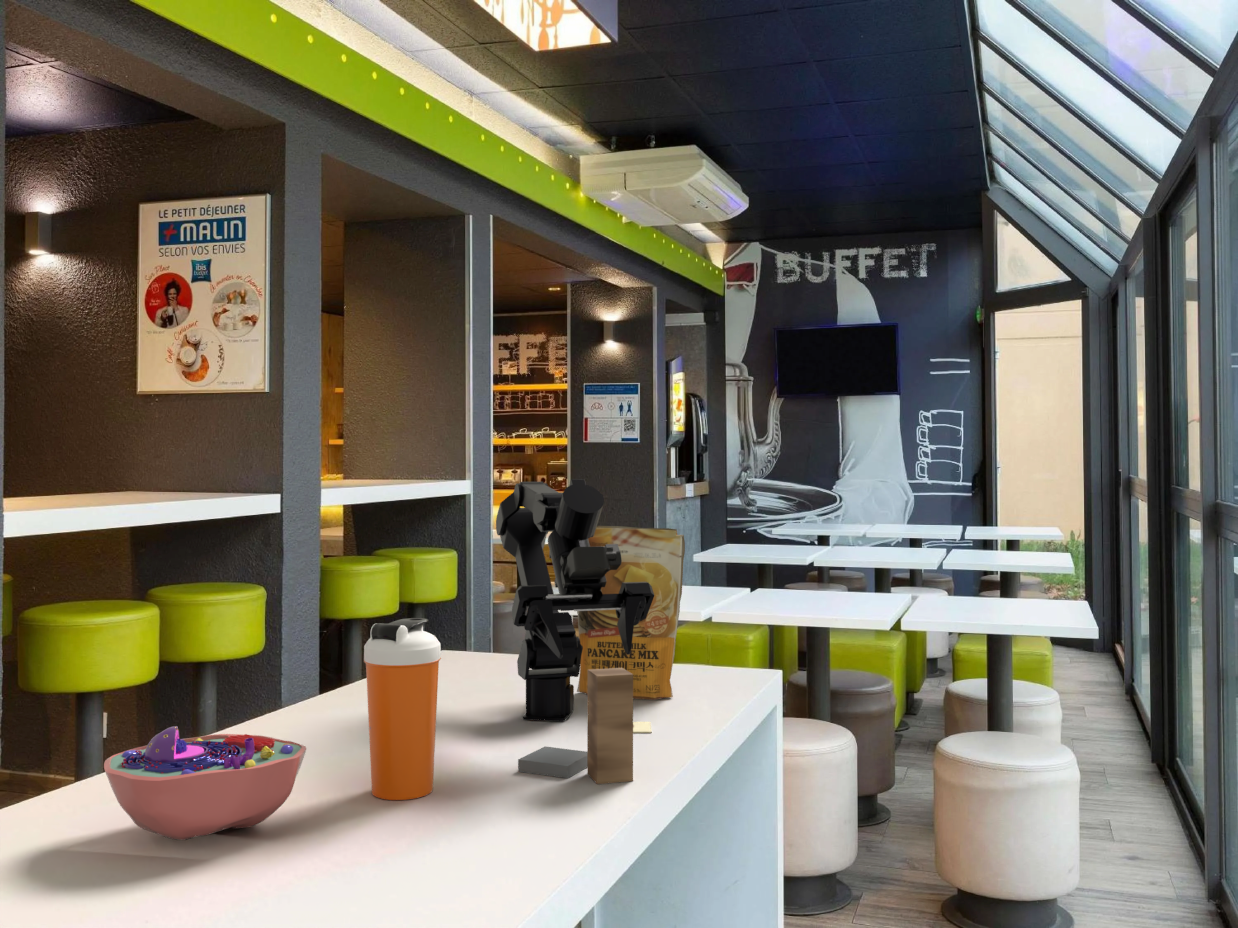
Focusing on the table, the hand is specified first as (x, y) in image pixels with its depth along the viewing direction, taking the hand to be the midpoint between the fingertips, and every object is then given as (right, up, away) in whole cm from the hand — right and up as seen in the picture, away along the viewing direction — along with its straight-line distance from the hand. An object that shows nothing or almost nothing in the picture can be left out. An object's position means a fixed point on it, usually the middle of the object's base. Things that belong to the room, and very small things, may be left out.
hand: (595, 654), depth 144 cm
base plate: (-5, -14, -4) cm, 15 cm away
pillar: (+2, -14, -8) cm, 16 cm away
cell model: (-40, -14, -28) cm, 51 cm away
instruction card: (+3, -14, +17) cm, 22 cm away
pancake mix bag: (+4, -14, +40) cm, 43 cm away
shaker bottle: (-22, -14, -14) cm, 30 cm away
